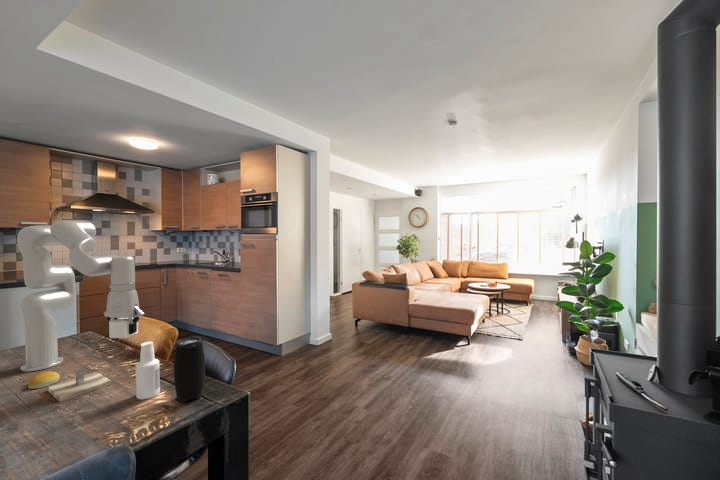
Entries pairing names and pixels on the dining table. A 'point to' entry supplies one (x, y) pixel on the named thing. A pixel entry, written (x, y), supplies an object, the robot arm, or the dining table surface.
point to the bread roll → (43, 379)
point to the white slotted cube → (120, 328)
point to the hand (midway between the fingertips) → (124, 332)
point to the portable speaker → (189, 369)
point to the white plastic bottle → (147, 373)
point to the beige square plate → (78, 385)
